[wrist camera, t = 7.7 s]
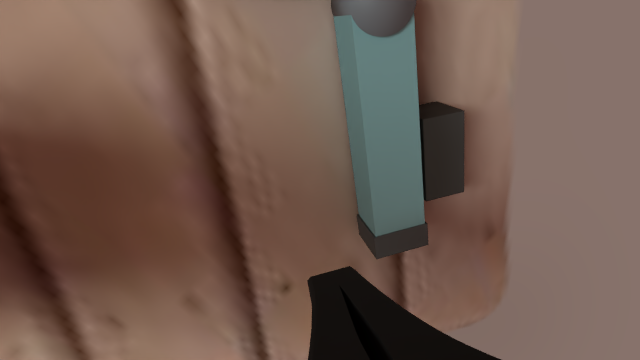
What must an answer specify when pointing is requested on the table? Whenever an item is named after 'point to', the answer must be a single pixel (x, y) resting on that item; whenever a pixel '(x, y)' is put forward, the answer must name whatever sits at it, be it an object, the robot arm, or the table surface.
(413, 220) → the stool leg
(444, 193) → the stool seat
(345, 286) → the robot arm
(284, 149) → the table surface
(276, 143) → the table surface
